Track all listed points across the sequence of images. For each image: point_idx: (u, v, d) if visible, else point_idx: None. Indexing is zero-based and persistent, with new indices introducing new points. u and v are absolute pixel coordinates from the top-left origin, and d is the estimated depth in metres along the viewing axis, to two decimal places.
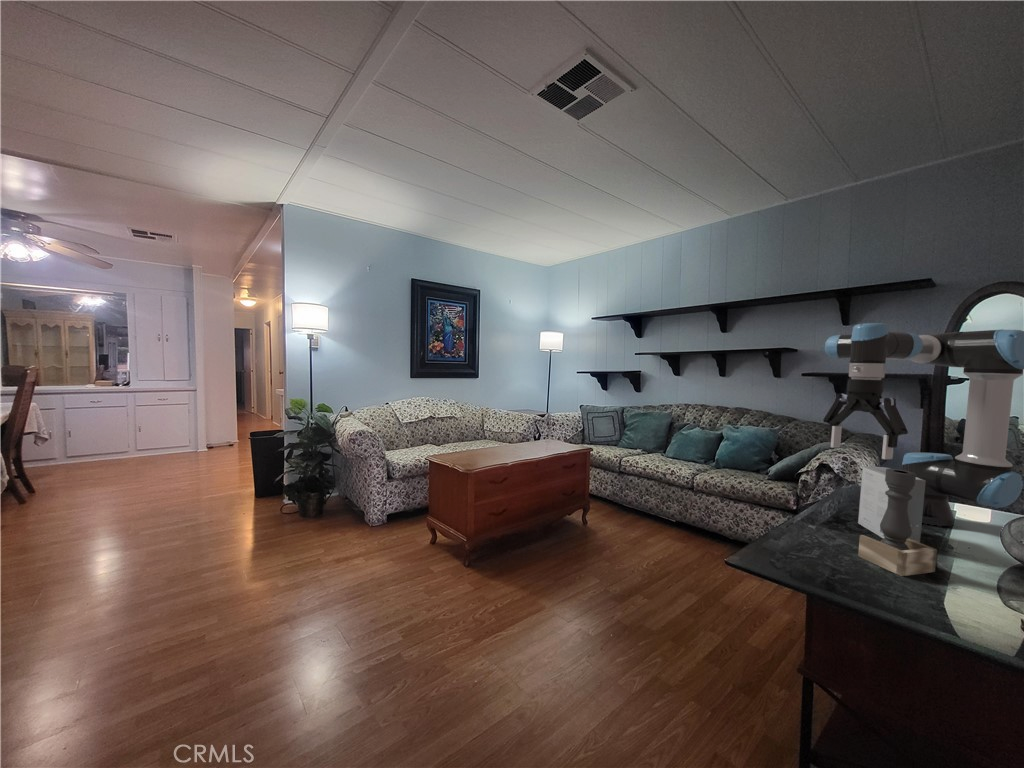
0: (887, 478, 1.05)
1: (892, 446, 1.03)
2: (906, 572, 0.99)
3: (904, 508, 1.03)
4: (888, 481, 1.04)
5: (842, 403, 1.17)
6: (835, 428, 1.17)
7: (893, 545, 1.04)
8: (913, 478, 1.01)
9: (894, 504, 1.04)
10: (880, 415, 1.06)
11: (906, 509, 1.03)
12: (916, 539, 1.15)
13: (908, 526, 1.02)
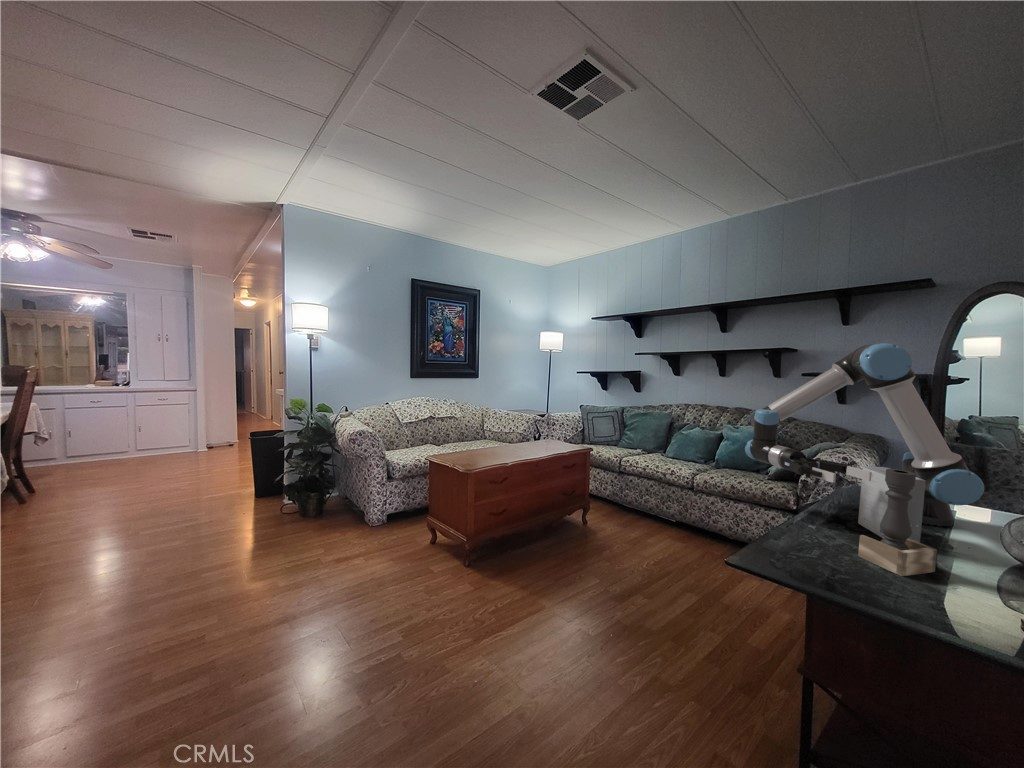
0: (887, 478, 1.05)
1: (818, 476, 1.17)
2: (906, 572, 0.99)
3: (904, 508, 1.03)
4: (888, 481, 1.04)
5: None
6: (848, 473, 1.23)
7: (893, 545, 1.04)
8: (913, 478, 1.01)
9: (894, 504, 1.04)
10: None
11: (906, 509, 1.03)
12: (916, 539, 1.15)
13: (908, 526, 1.02)
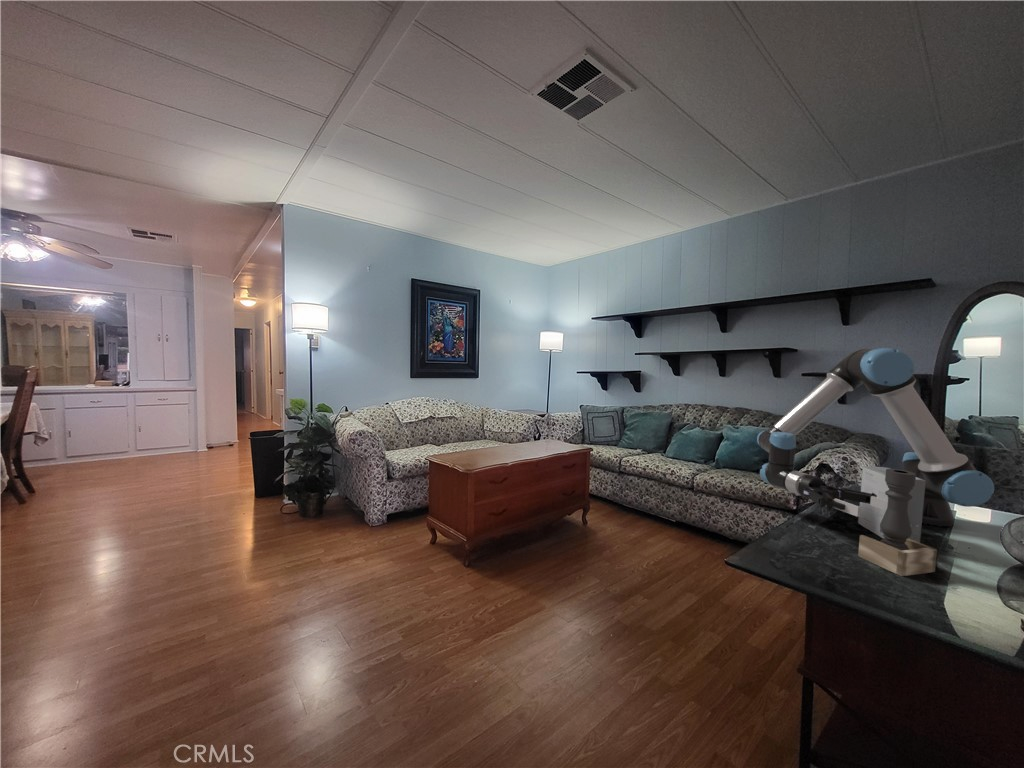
0: (887, 478, 1.05)
1: (840, 508, 1.10)
2: (906, 572, 0.99)
3: (904, 508, 1.03)
4: (888, 481, 1.04)
5: None
6: (872, 504, 1.16)
7: (893, 545, 1.04)
8: (913, 478, 1.01)
9: (894, 504, 1.04)
10: None
11: (906, 509, 1.03)
12: (916, 539, 1.15)
13: (908, 526, 1.02)
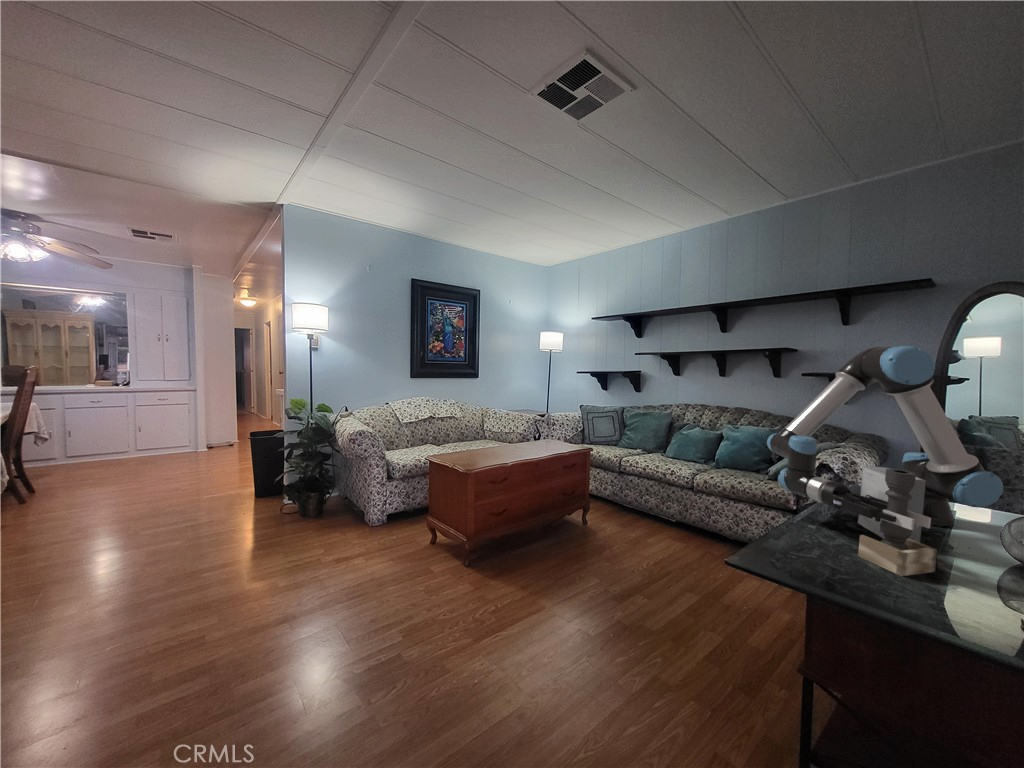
0: (887, 478, 1.05)
1: (891, 521, 1.02)
2: (906, 572, 0.99)
3: (904, 508, 1.03)
4: (888, 481, 1.04)
5: None
6: None
7: (893, 545, 1.04)
8: (913, 478, 1.01)
9: (894, 504, 1.04)
10: None
11: (906, 509, 1.03)
12: (916, 539, 1.15)
13: None
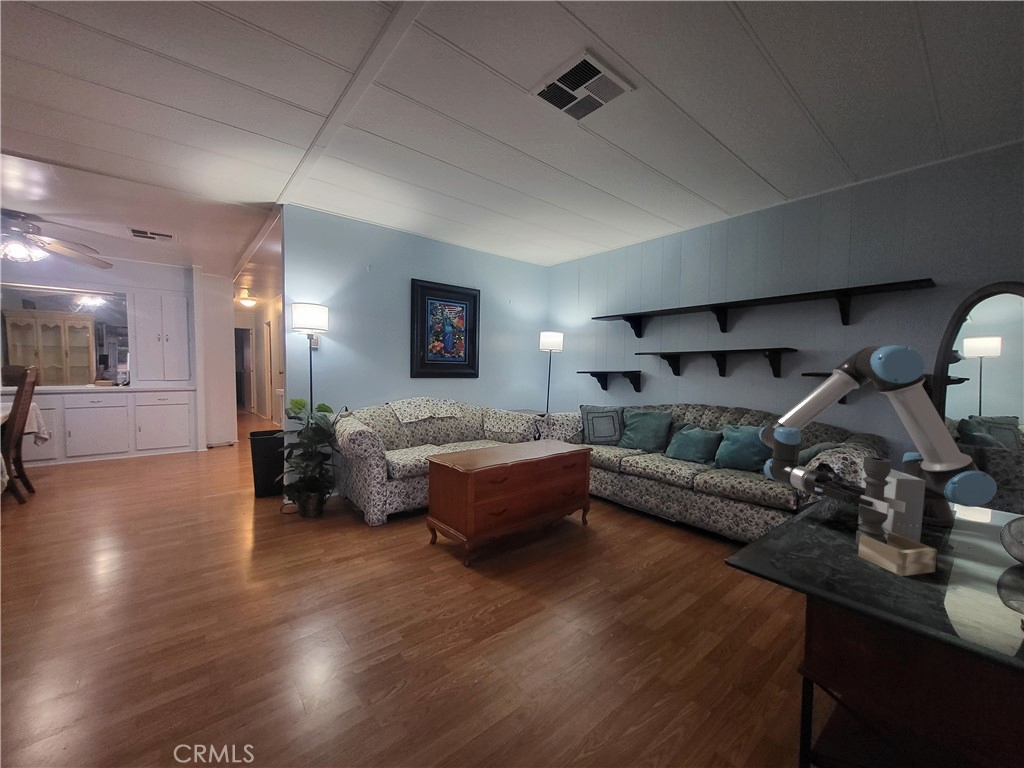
0: (865, 465, 1.10)
1: (868, 506, 1.07)
2: (906, 572, 0.99)
3: (880, 493, 1.08)
4: (866, 468, 1.09)
5: None
6: None
7: (870, 529, 1.09)
8: (889, 465, 1.06)
9: (871, 490, 1.09)
10: None
11: (882, 494, 1.08)
12: (916, 539, 1.15)
13: None
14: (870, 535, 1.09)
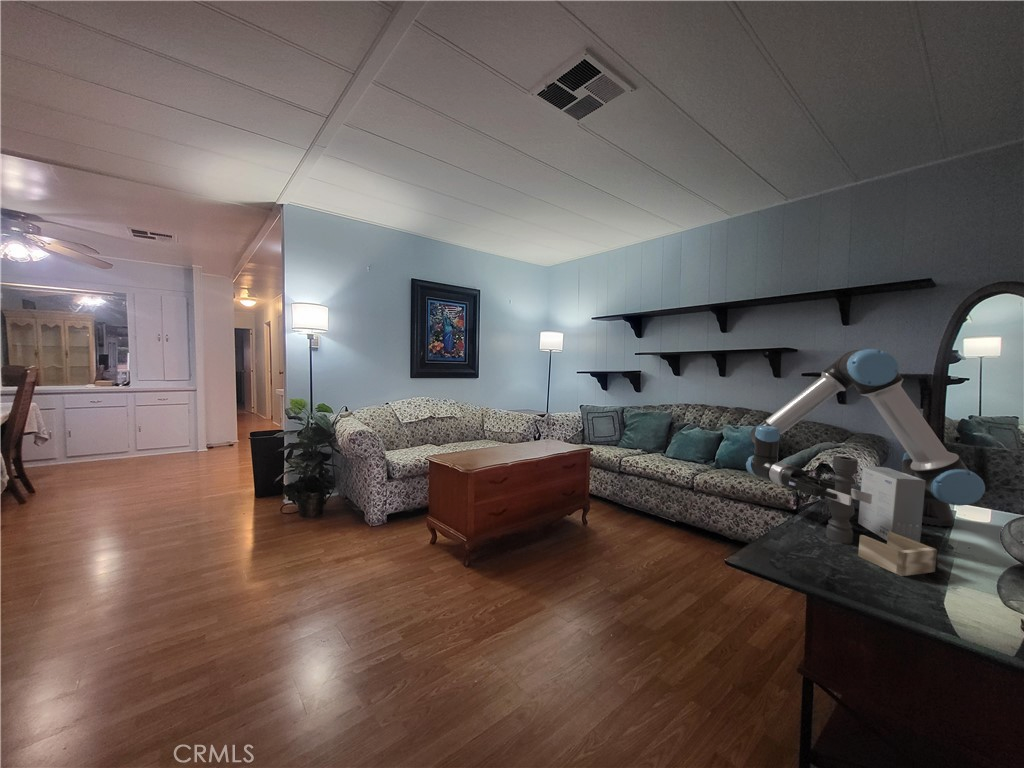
0: (834, 464, 1.18)
1: (833, 498, 1.16)
2: (906, 572, 0.99)
3: (848, 490, 1.16)
4: (834, 466, 1.18)
5: None
6: None
7: (838, 523, 1.17)
8: (855, 464, 1.15)
9: (839, 487, 1.17)
10: None
11: (849, 491, 1.17)
12: (916, 539, 1.15)
13: (851, 506, 1.16)
14: (838, 529, 1.17)
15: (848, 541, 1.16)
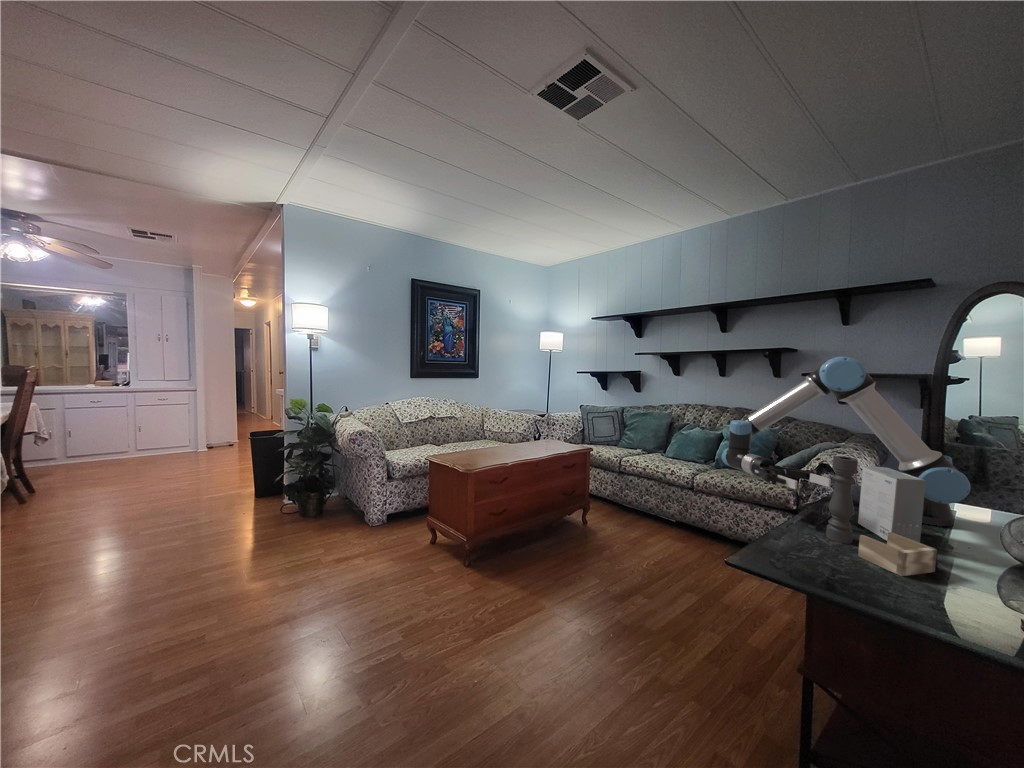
0: (833, 464, 1.18)
1: (782, 483, 1.29)
2: (906, 572, 0.99)
3: (848, 490, 1.16)
4: (834, 466, 1.18)
5: None
6: (811, 480, 1.34)
7: (838, 523, 1.17)
8: (855, 463, 1.15)
9: (839, 487, 1.17)
10: None
11: (849, 491, 1.17)
12: (916, 539, 1.15)
13: (851, 506, 1.16)
14: (838, 529, 1.17)
15: (848, 541, 1.16)
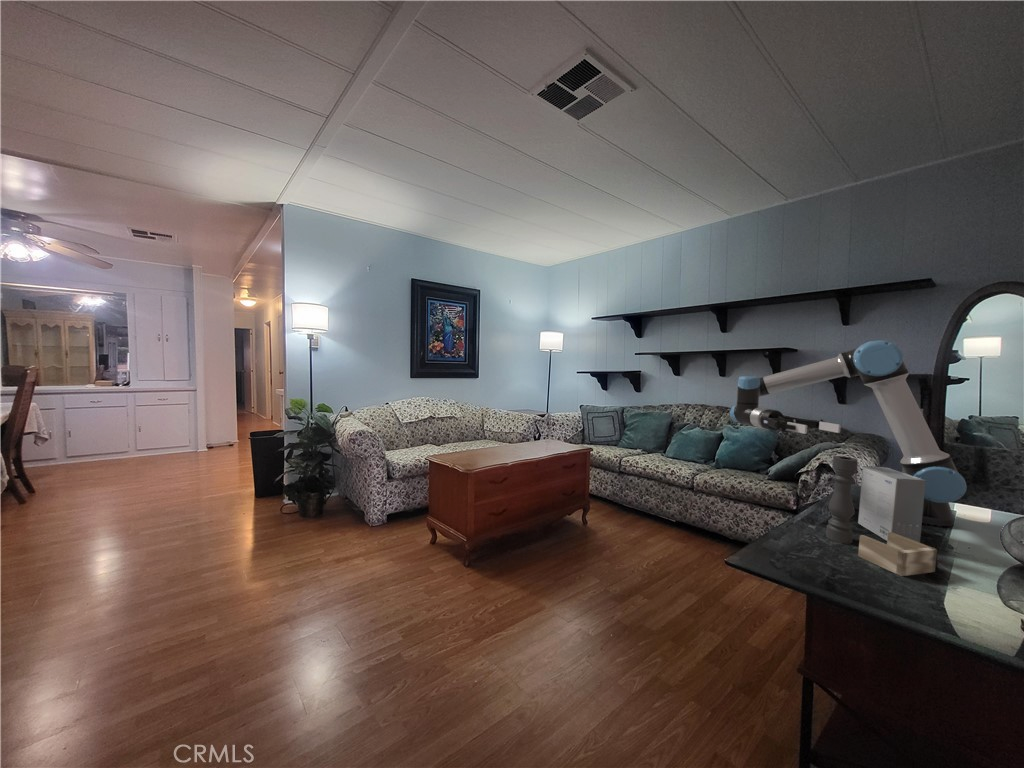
0: (833, 464, 1.18)
1: (792, 429, 1.29)
2: (906, 572, 0.99)
3: (848, 490, 1.16)
4: (834, 466, 1.18)
5: None
6: (820, 428, 1.34)
7: (838, 523, 1.17)
8: (855, 463, 1.15)
9: (839, 487, 1.17)
10: None
11: (849, 491, 1.17)
12: (916, 539, 1.15)
13: (851, 506, 1.16)
14: (838, 529, 1.17)
15: (848, 541, 1.16)
